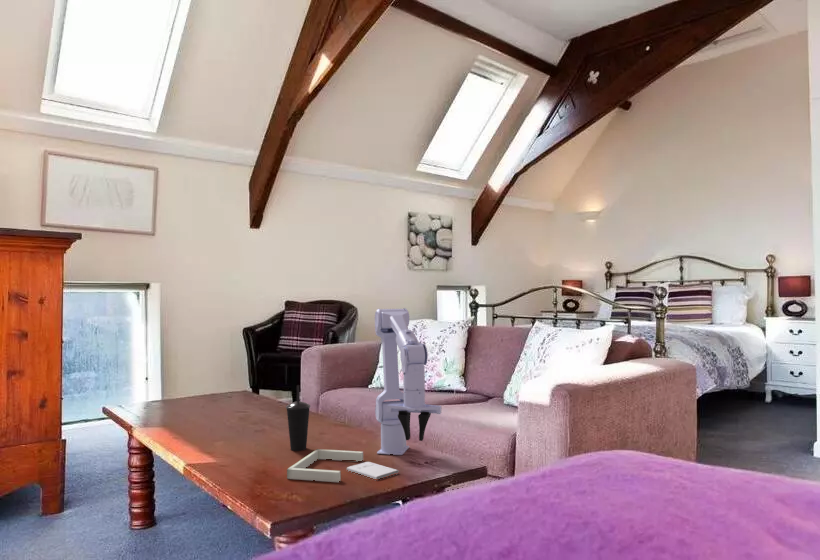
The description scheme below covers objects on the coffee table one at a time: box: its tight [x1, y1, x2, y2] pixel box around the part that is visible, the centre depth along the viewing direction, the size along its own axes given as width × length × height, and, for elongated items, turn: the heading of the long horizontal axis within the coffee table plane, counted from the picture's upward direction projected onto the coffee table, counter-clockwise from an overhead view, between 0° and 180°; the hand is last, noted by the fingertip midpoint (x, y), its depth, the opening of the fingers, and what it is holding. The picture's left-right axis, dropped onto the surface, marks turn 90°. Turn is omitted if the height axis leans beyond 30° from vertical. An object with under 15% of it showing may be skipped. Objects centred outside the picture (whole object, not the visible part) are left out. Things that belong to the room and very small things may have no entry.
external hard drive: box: [346, 461, 400, 480], centre depth 163 cm, size 2×8×12 cm
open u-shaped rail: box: [286, 448, 364, 483], centre depth 166 cm, size 20×14×2 cm
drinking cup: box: [285, 384, 311, 452], centre depth 188 cm, size 8×8×20 cm
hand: (414, 439), depth 160 cm, fingers open, 3 cm apart
